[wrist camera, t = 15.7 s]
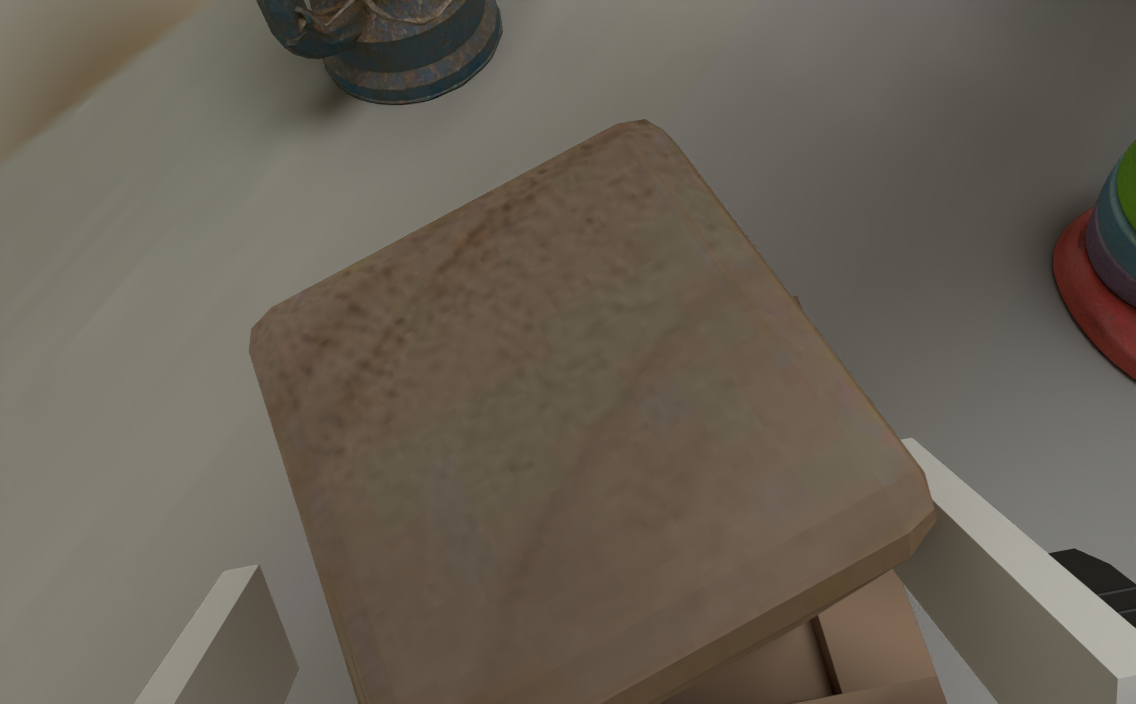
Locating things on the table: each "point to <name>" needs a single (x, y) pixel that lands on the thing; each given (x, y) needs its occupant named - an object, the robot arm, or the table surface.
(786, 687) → the base plate
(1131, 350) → the stacking bear
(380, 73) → the lantern
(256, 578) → the robot arm
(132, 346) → the table surface
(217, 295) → the table surface
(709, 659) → the wooden block
